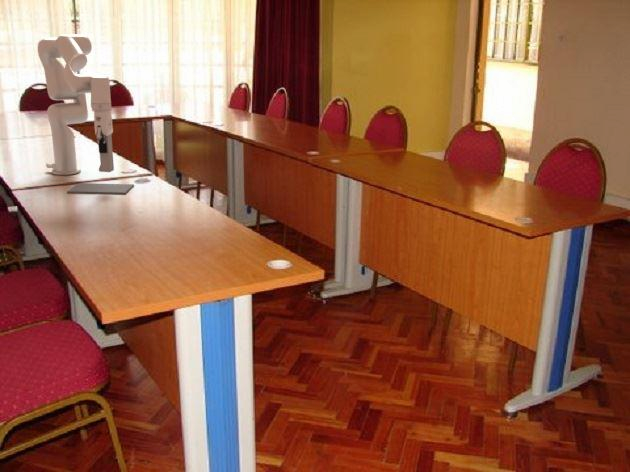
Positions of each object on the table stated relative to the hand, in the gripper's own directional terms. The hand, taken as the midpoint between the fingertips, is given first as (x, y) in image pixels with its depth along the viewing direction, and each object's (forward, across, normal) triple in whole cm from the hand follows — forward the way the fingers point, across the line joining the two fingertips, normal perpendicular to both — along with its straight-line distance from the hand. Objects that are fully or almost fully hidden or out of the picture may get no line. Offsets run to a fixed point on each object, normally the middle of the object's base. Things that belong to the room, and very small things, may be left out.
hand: (104, 151), depth 278 cm
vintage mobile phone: (+9, 0, 0) cm, 9 cm away
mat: (+17, +1, +3) cm, 17 cm away
